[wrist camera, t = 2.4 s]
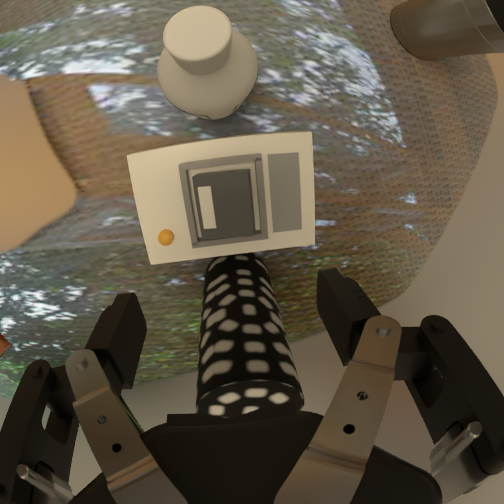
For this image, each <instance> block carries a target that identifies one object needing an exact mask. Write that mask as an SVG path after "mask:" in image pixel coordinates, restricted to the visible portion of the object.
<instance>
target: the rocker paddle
mask: <svg viewBox="0 0 504 504" xmlns="http://www.w3.org/2000/svg"><path fill="white" fill-rule="evenodd" d="M192 181H193V188H194V194H195V200H196V207H197V213H198V219H199V225H200V231H201V237H202V239H203V238H225V237H249V236H254V234H255V230H256V228H255V217H254V206H253V196H252V185H251V175H250V169H238V170H226V171H216V172H206V173H197V174H196V175H194V176H193V177H192Z"/></svg>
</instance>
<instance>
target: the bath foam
mask: <svg viewBox="0 0 504 504" xmlns="http://www.w3.org/2000/svg"><path fill="white" fill-rule="evenodd" d="M163 42H164V46H165V47H164V49H163V51H162V53H161V55H160V58H159V61H158V68H157V74H158V80H159V84H160V87H161V89H162V91H163V93H164V95H165V96H166V98H167V99H168V100H169V101H170V102H171V103H172V104H173V105H174V106H175V107H177V108H179V109H180V110H182V111H184V112H187V113H189V114H192V115H194V116H197V117H199V118H203V119H208V120H216V119H221V118H224V117H227V116H229V115H231V114H232V113H234V112H235V111H236V110H237V109H238V108H239V107H240V106H241V104H242V103H243V102H244V100H245V99H246V98H247V97H248V95H249V94H250V92H251V91H252V89H253V87H254V85H255V83H256V80H257V75H258V61H257V56H256V53H255V51H254V49H253V47H252V45H251V43H250V42H249V41H248V40H247V38H246V37H245V36H243V35H242V34H241V33H240V32H238V31H237V30H235V29H233V28H232V25H231V22H230V20H229V19H228V17H227V16H226V15H225V14H224V13H223V12H221V11H220V10H218V9H216V8H213V7H209V6H193V7H189V8H186V9H184V10H182V11H180V12H178V13H177V14H175V15H174V16H173V17H172V18H171V19H170V20H169V22H168V23H167V25H166V27H165V29H164V33H163Z"/></svg>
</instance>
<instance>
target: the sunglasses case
mask: <svg viewBox="0 0 504 504" xmlns="http://www.w3.org/2000/svg"><path fill="white" fill-rule="evenodd" d="M10 346H11V344H10V342H8V341H7V340H6V339H5V338H4V336H3V335H2V334H1V333H0V357H1V356H2V354H3V353H4V352H5V351H6V350H7V349H8V348H9V347H10Z"/></svg>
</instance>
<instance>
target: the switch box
mask: <svg viewBox="0 0 504 504" xmlns="http://www.w3.org/2000/svg"><path fill="white" fill-rule="evenodd" d="M127 160H128V165H129V171H130V177H131V182H132V187H133V192H134V197H135V202H136V206H137V211H138V215H139V220H140V224H141V228H142V232H143V237H144V240H145V244H146V248H147V252H148V256H149V260H150V263H151V265H153V264H161V263H169V262H177V261H185V260H193V259H201V258H209V257H217V256H225V255H233V254H241V253H249V252H257V251H265V250H273V249H281V248H289V247H297V246H305V245H313V244H315V198H314V166H313V145H312V132H308V131H281V132H266V133H254V134H243V135H234V136H225V137H217V138H209V139H202V140H196V141H189V142H183V143H177V144H172V145H166V146H161V147H156V148H151V149H146V150H141V151H138V152H135V153H132V154H129V155H127ZM238 169H250V175H251V185H252V196H253V206H254V217H255V228H256V230H255V234H254V236H249V237H225V238H203V239H202V237H201V231H200V225H199V219H198V213H197V207H196V200H195V194H194V188H193V181H192V177H193V176H194V175H196V174H197V173H206V172H216V171H226V170H238Z"/></svg>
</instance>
